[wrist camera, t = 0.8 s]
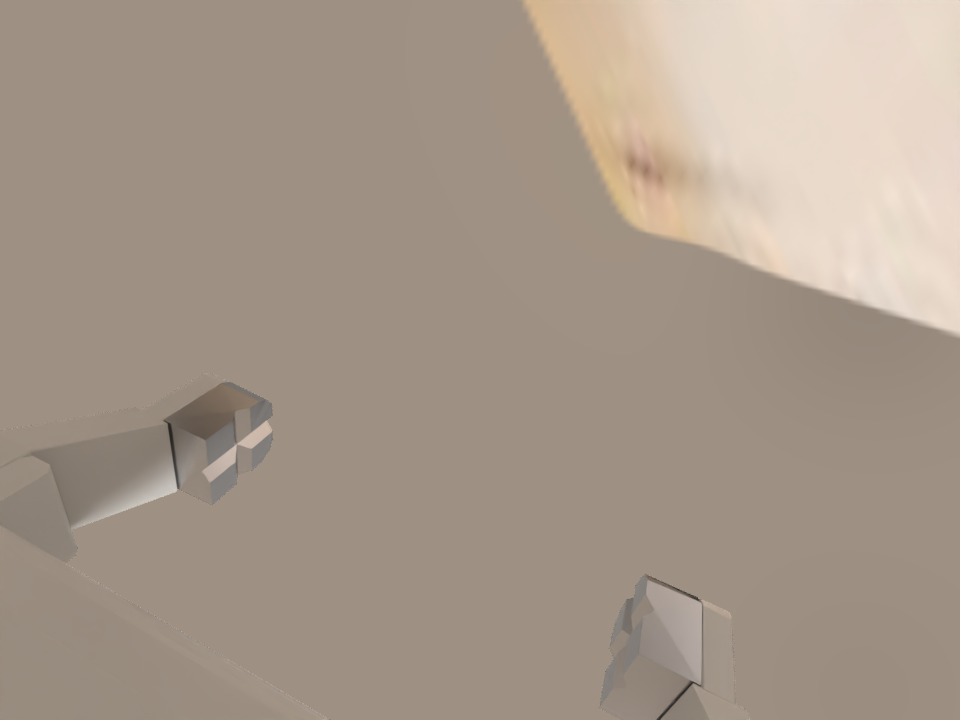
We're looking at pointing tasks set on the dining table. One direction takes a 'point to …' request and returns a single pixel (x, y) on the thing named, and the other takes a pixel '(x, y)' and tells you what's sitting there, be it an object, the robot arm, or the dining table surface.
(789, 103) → the dining table surface
